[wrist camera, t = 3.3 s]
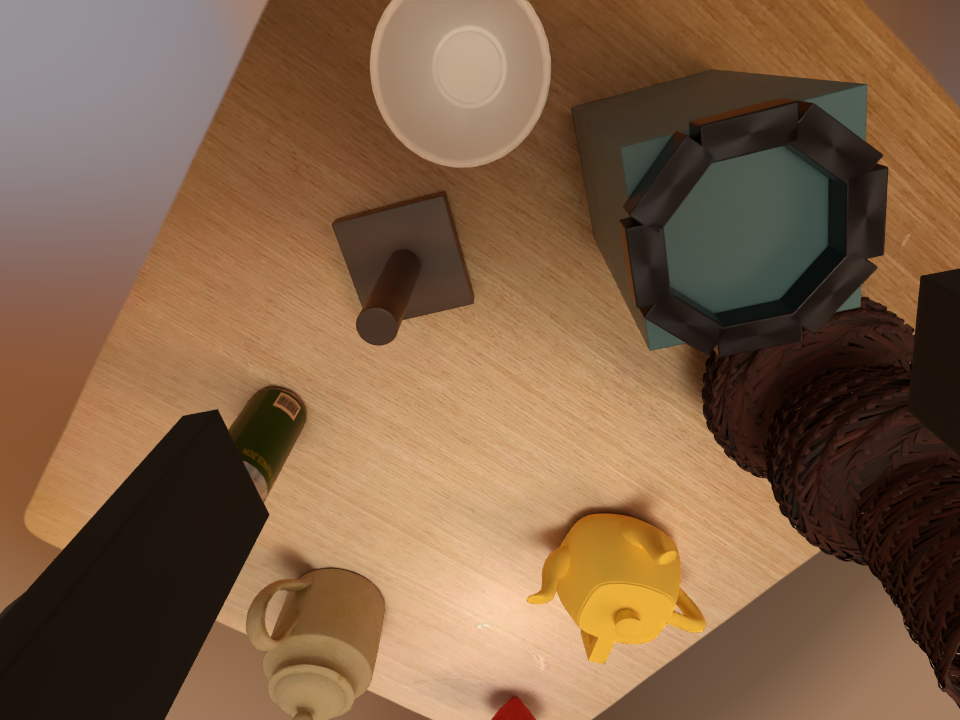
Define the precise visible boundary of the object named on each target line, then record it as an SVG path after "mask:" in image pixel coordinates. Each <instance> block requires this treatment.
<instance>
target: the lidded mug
mask: <svg viewBox="0 0 960 720" xmlns="http://www.w3.org/2000/svg"><path fill="white" fill-rule="evenodd" d="M278 590H287V591H289V593H288V595H287V598H286V600H285V603H284V605H283V607H282V610H281V612H280V614H279V617H278V619H277V622H276V624H275V627H274V630H273V633H272V635H271V637H270V636H269V634H268V632H267V630H266V627H265V613H266V608H267V605H268V602H269V601H270V599H271V598H272V596H273V595H274V594H275V593H276V592H277V591H278ZM384 612H385V604H384V600H383V597H382V595H381V593H380V591H379V590H378V589H377V588H376V587H375V586H374V584H372V583H371V582H370V581H368V580H367V579H365V578H364V577H362V576H360V575H358V574H356V573H353V572H349V571H346V570H341V569H319V570H315V571H311V572H309V573H307V574H305V575H303V576H301V577H300V578H298V579H297V580H296V579H284V580H279V581H276V582H273V583H271V584H269V585H268V586H266V587H265V588H264V589H263V590H261V591H260V592H259V594H258V595H257V596H256V597H255V599H254V600H253V602H252V604H251V606H250V608H249V611H248V614H247V620H246V632H247V635H248V639H249V641H250V642H251V643H252V645H253V646H254V647H255V648H256V649H258V650H261V651H266V652H265V655H264V658H263V669H264V672H265V675H266V676H267V678H268V680H269V684H268V690H269V694H270V696H271V698H272V700H273V701H274V702H275V703H276V704H277V705H278V706H279V707H280V708H282V709H283V710H284V711H285V712H286V713H288V714H289V715H291V716H293V720H327V719H330V718H334V717H337V716H340V715H342V714H344V713H346V712H347V711H349V710H350V708H351V707H352V705H353V702H354V699H355V698H357V697H358V696H360V695H361V694H362V693H363V692H365V691H366V689H367V688H368V687H369V685H370V683H371V680H372V675H373V671H374V666H375V662H376V657H377V653H378V648H379V642H380V636H381V630H382V624H383V618H384Z"/></svg>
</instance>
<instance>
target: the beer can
mask: <svg viewBox="0 0 960 720" xmlns="http://www.w3.org/2000/svg"><path fill="white" fill-rule="evenodd" d="M305 422H306V413H305V409H304V407H303V404H302V402H301V401H300V400H299V398H298V397H297V396H296V395H294V394H293V393H292V392H290V391H288V390H285V389H282V388H268V389H264V390H261V391H259V392H258V393H256V394H254V395H253V397H252V398H251V399H250V400H249V401H248V403H247V404H246V406H245V407H244V408H243V410H242V411H241V413H240V414H239V415H238V417H237V418H236V420H235V421H234V422H233V424H232V425H231V427H230V428H229V429H228V431H229V433H230V435H231V437H232V439H233V441H234V443H235V446H236V448H237V450H238V452H239V454H240V456H241V458H242V460H243V462H244V464H245V466H246V468H247V470H248V472H249V474H250V476H251V478H252V480H253V482H254V484H255V486H256V488H257V490H258V493H259V495H260V497H261V499H262V501H263V503H264V502H265V500H266V498H267V496H268V494H269V492H270V490H271V488H272V486H273V484H274V482H275V481H276V479H277V477H278V475H279V473H280V471H281V469H282V467H283V465H284V463H285V461H286V460H287V458H288V456H289V454H290V452H291V450H292V448H293V446H294V444H295V442H296V440H297V438H298V437H299V435H300V433H301V431H302V429H303V427H304V424H305Z"/></svg>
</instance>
